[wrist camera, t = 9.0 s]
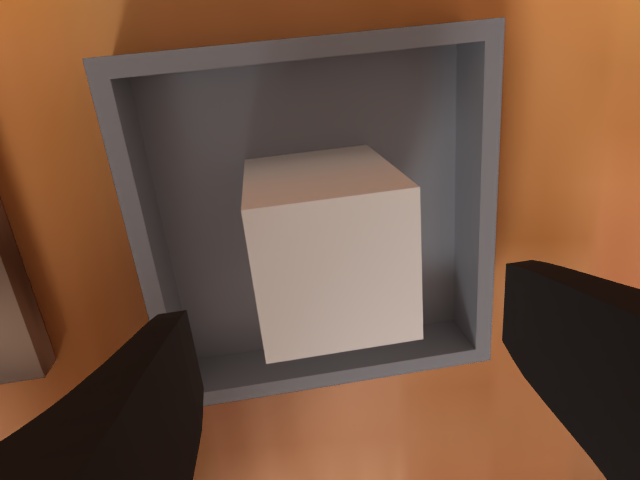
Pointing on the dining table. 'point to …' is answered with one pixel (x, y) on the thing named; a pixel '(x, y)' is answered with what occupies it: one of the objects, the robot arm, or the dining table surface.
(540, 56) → the dining table surface
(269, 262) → the block
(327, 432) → the dining table surface
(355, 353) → the bin
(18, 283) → the stud block
